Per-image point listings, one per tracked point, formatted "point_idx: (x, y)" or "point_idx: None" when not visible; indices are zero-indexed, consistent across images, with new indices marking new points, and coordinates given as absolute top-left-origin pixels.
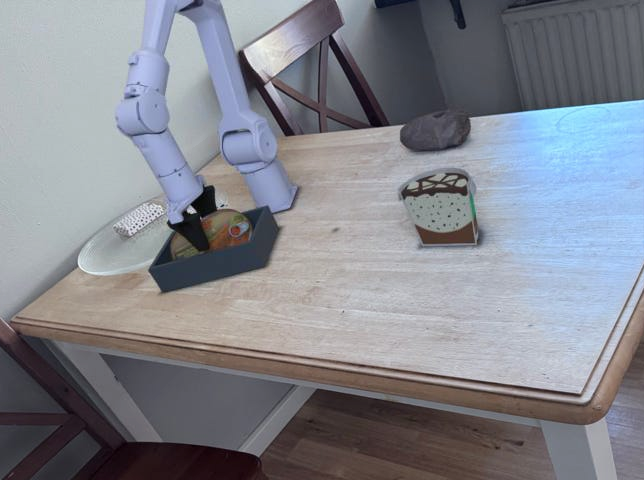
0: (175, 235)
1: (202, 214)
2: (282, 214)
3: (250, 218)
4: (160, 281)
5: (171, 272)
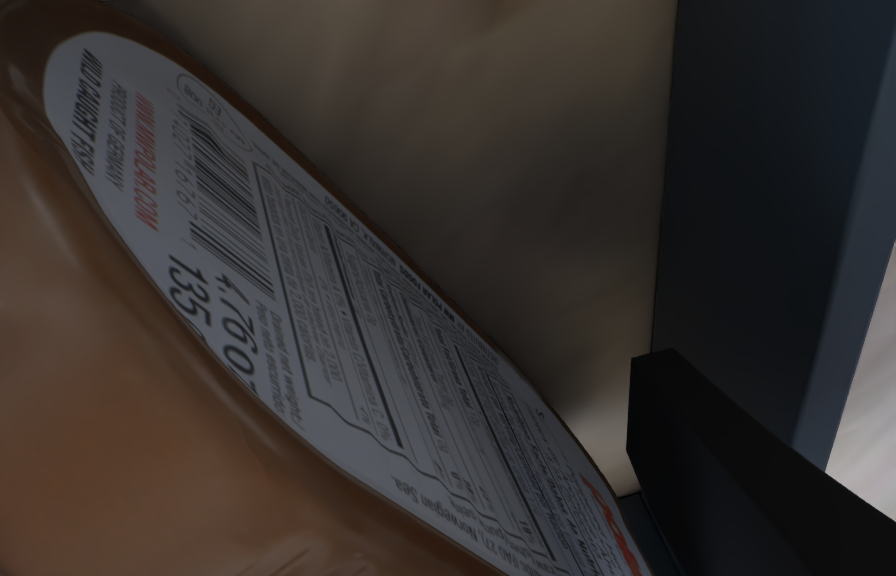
0: (101, 504)
1: (763, 560)
2: (871, 433)
3: None
4: None
5: None
